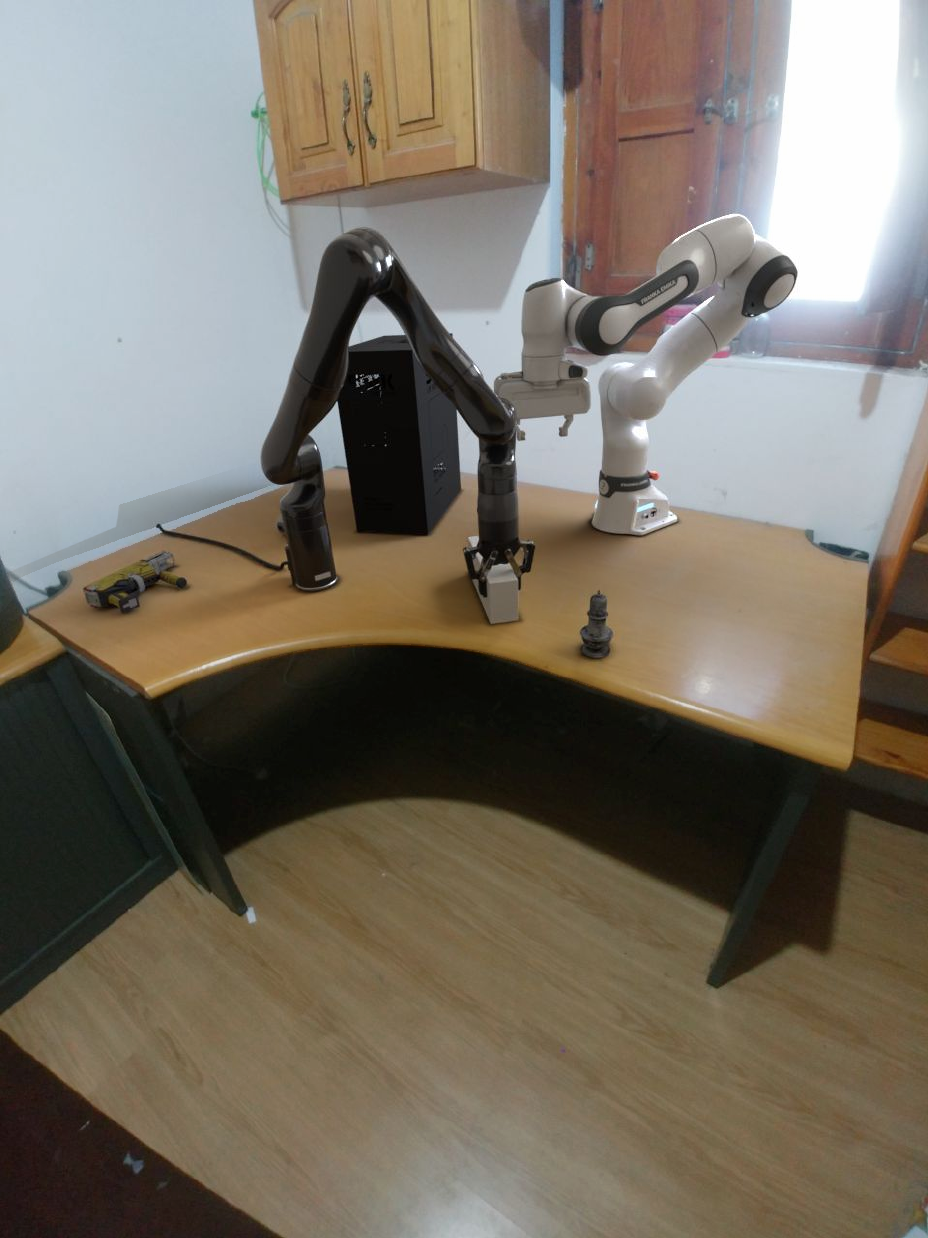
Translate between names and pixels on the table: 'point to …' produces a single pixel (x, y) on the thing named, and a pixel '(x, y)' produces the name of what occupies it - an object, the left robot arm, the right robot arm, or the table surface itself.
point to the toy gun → (131, 583)
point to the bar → (498, 589)
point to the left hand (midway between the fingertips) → (500, 593)
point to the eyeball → (280, 524)
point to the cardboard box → (397, 440)
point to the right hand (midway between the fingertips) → (542, 438)
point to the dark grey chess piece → (596, 628)
